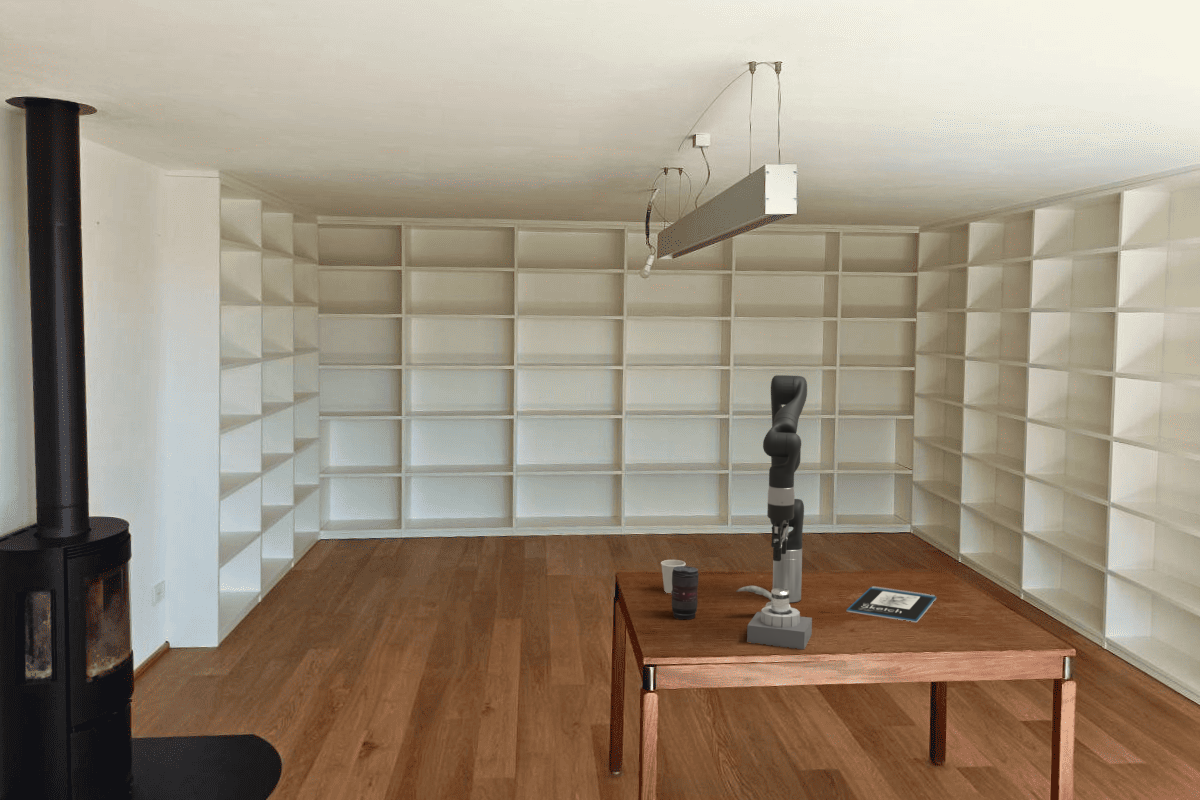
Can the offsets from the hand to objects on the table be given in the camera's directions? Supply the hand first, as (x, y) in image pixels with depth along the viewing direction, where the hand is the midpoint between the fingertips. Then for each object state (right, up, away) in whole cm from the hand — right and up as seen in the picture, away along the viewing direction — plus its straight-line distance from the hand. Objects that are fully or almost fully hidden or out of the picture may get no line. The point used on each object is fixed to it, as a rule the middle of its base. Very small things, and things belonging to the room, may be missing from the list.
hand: (779, 557), depth 280 cm
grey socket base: (0, -23, -1) cm, 23 cm away
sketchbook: (+43, -22, +33) cm, 58 cm away
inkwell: (-1, -22, +19) cm, 29 cm away
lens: (0, -18, -2) cm, 18 cm away
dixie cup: (-27, -19, +46) cm, 57 cm away
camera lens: (-26, -22, +19) cm, 39 cm away
